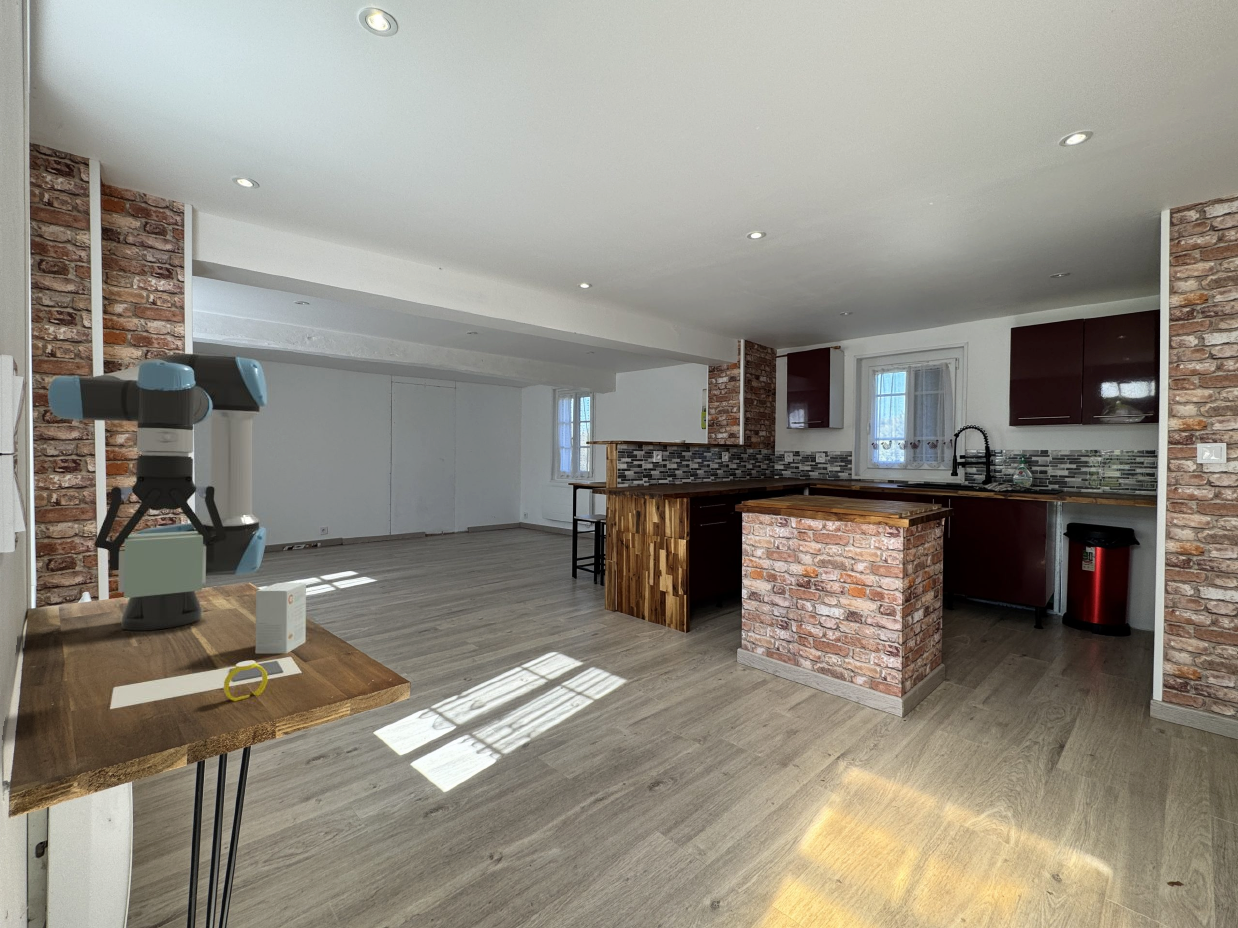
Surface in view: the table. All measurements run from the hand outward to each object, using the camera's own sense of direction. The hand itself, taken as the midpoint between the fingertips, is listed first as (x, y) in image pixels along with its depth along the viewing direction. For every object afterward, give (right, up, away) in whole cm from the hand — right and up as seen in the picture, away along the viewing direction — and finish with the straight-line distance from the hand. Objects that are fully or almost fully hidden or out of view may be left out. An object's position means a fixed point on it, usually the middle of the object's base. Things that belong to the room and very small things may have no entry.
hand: (163, 585), depth 98 cm
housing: (0, 0, 0) cm, 0 cm away
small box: (+7, -18, +23) cm, 30 cm away
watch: (+16, -18, -3) cm, 24 cm away
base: (+5, -18, +4) cm, 19 cm away
